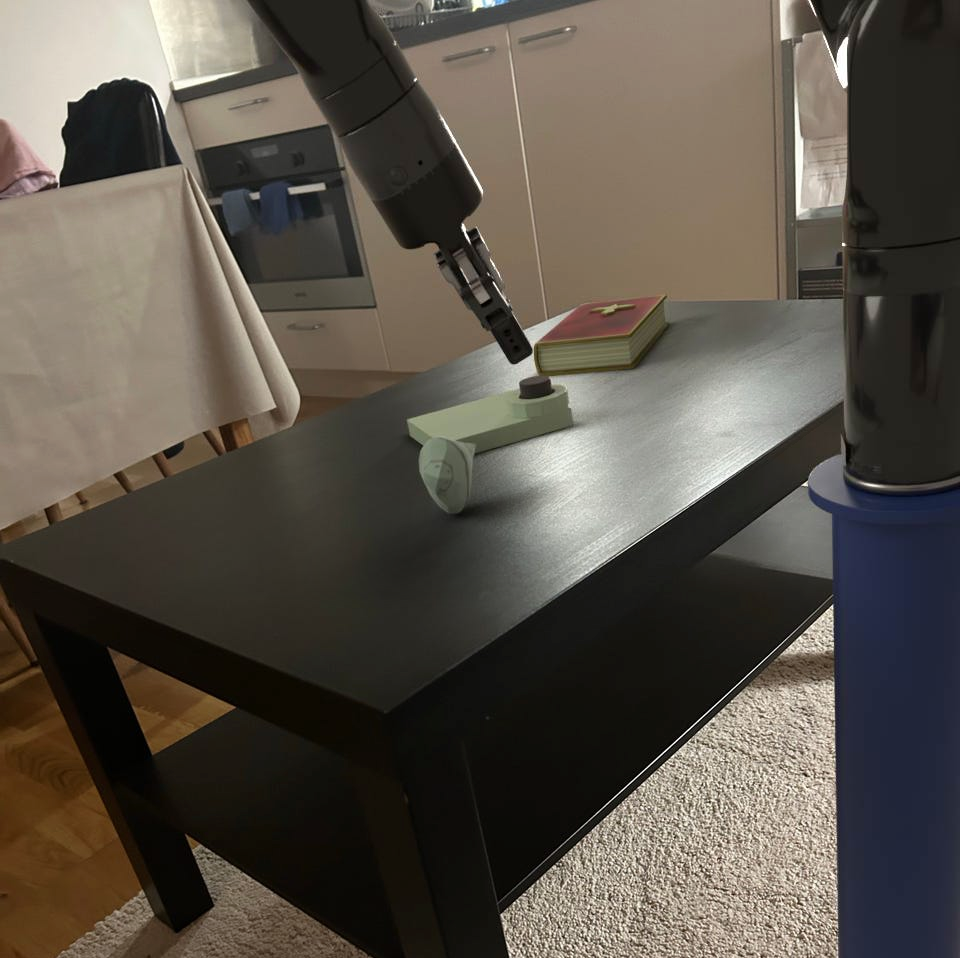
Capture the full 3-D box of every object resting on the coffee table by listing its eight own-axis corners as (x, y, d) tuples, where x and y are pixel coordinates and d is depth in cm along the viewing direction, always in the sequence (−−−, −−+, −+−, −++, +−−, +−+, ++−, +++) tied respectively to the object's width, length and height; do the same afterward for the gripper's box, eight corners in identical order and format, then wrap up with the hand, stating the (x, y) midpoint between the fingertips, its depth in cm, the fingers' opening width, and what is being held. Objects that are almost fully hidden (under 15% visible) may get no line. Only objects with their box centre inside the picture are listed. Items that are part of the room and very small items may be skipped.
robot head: (457, 532, 83) (441, 452, 79) (412, 532, 84) (395, 454, 81) (493, 495, 89) (479, 420, 86) (450, 496, 91) (436, 422, 87)
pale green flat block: (532, 402, 113) (527, 371, 112) (581, 425, 102) (576, 391, 101) (410, 436, 110) (403, 404, 108) (447, 463, 99) (440, 429, 97)
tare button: (545, 390, 105) (542, 373, 104) (557, 395, 102) (555, 378, 101) (516, 398, 104) (514, 381, 103) (528, 403, 101) (526, 386, 100)
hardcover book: (536, 376, 123) (531, 341, 121) (582, 333, 140) (578, 301, 138) (633, 368, 118) (629, 331, 116) (669, 324, 135) (666, 292, 133)
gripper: (463, 155, 69) (577, 362, 79) (444, 120, 79) (547, 306, 89) (371, 217, 71) (494, 412, 80) (364, 174, 81) (474, 351, 91)
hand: (521, 356), depth 85 cm, fingers closed
